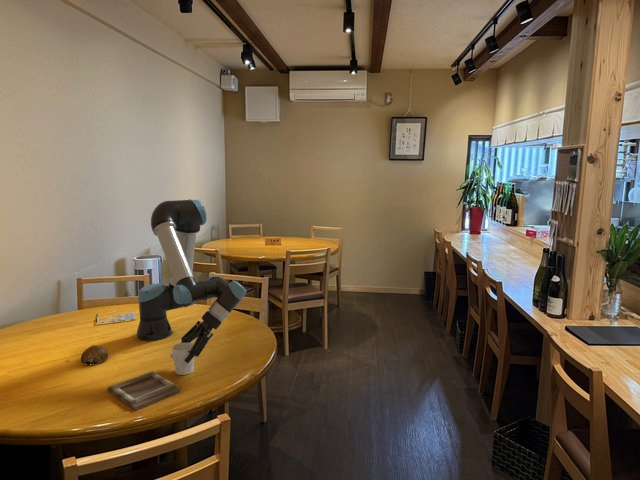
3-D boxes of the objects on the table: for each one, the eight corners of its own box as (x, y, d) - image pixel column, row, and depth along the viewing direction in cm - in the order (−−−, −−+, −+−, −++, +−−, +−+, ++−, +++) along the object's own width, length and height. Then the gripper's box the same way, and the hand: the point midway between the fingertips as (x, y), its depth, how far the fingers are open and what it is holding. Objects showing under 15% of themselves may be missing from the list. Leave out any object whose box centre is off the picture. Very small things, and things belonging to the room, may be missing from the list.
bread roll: (111, 367, 180) (116, 347, 182) (92, 367, 171) (98, 346, 173) (92, 364, 183) (97, 344, 185) (72, 363, 174) (78, 342, 176)
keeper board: (107, 390, 154) (107, 384, 153) (150, 374, 166) (150, 368, 165) (135, 410, 141) (135, 403, 141) (180, 392, 153) (179, 385, 153)
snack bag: (94, 326, 219) (94, 322, 218) (97, 314, 237) (97, 310, 237) (136, 321, 226) (135, 317, 225) (135, 310, 244) (135, 306, 244)
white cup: (189, 376, 164) (187, 351, 163) (169, 375, 166) (168, 349, 164) (198, 367, 172) (197, 343, 170) (180, 366, 173) (179, 341, 172)
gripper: (231, 330, 165) (191, 380, 159) (213, 313, 183) (176, 357, 178) (217, 318, 161) (175, 369, 155) (199, 303, 180) (161, 348, 174)
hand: (175, 363), depth 167 cm, fingers open, 10 cm apart
